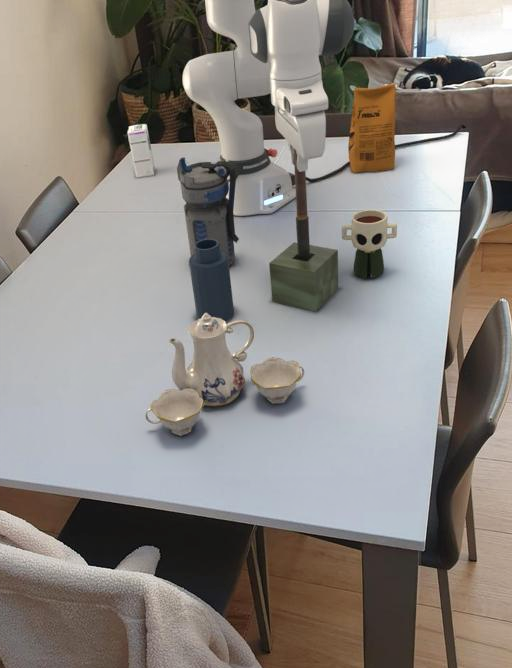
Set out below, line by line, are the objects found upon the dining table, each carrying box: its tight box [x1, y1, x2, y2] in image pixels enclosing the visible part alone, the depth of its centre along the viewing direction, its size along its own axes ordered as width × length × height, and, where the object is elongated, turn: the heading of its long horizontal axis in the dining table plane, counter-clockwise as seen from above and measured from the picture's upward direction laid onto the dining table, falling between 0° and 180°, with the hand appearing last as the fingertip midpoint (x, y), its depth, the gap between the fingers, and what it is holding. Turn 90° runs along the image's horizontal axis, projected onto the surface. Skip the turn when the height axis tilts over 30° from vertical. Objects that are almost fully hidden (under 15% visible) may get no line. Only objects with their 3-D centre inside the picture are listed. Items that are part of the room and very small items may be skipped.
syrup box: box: [126, 123, 156, 178], centre depth 218 cm, size 6×6×14 cm
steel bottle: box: [188, 239, 235, 323], centre depth 143 cm, size 8×8×16 cm
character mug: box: [341, 209, 398, 279], centre depth 148 cm, size 11×7×13 cm, turn 78°
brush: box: [293, 149, 311, 257], centre depth 137 cm, size 2×2×22 cm
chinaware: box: [145, 313, 305, 437], centre depth 118 cm, size 28×17×17 cm, turn 114°
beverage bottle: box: [176, 156, 240, 267], centre depth 158 cm, size 10×13×25 cm
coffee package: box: [347, 83, 397, 174], centre depth 194 cm, size 10×12×22 cm
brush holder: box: [268, 241, 339, 313], centre depth 146 cm, size 10×10×9 cm
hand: (299, 167), depth 133 cm, fingers closed on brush, 2 cm apart
